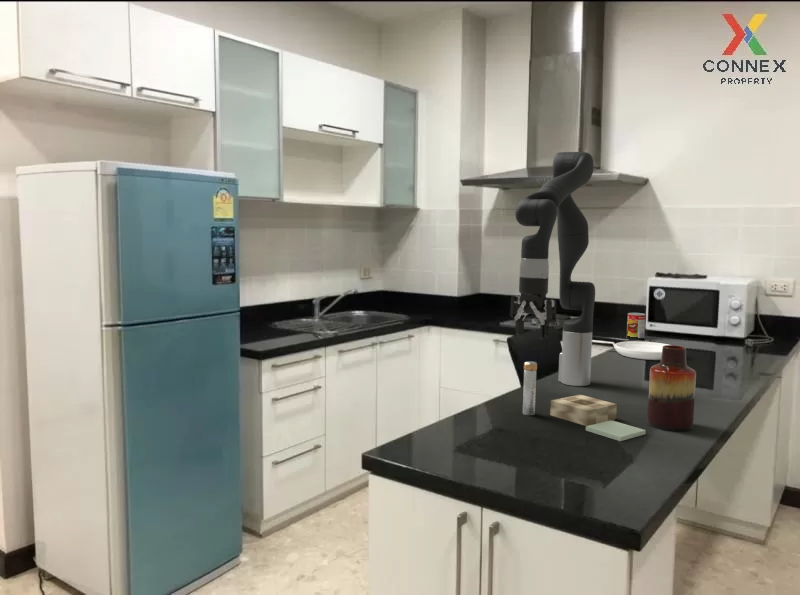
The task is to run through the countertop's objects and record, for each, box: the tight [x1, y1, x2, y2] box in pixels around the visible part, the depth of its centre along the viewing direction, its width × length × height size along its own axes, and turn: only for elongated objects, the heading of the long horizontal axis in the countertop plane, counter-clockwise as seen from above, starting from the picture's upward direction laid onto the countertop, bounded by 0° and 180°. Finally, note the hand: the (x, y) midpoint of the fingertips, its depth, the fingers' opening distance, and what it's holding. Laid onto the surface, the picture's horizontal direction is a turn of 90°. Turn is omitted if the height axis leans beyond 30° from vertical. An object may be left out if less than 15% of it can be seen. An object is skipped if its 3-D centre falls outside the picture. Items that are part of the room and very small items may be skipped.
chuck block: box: [549, 394, 618, 427], centre depth 171 cm, size 12×12×4 cm
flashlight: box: [522, 360, 538, 416], centre depth 172 cm, size 3×3×14 cm
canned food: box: [626, 312, 647, 339], centre depth 303 cm, size 8×8×12 cm
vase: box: [646, 344, 697, 433], centre depth 164 cm, size 11×11×20 cm
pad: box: [585, 420, 646, 442], centre depth 158 cm, size 10×10×1 cm
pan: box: [592, 339, 670, 361], centre depth 264 cm, size 25×39×4 cm, turn 60°
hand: (531, 336), depth 171 cm, fingers open, 8 cm apart
